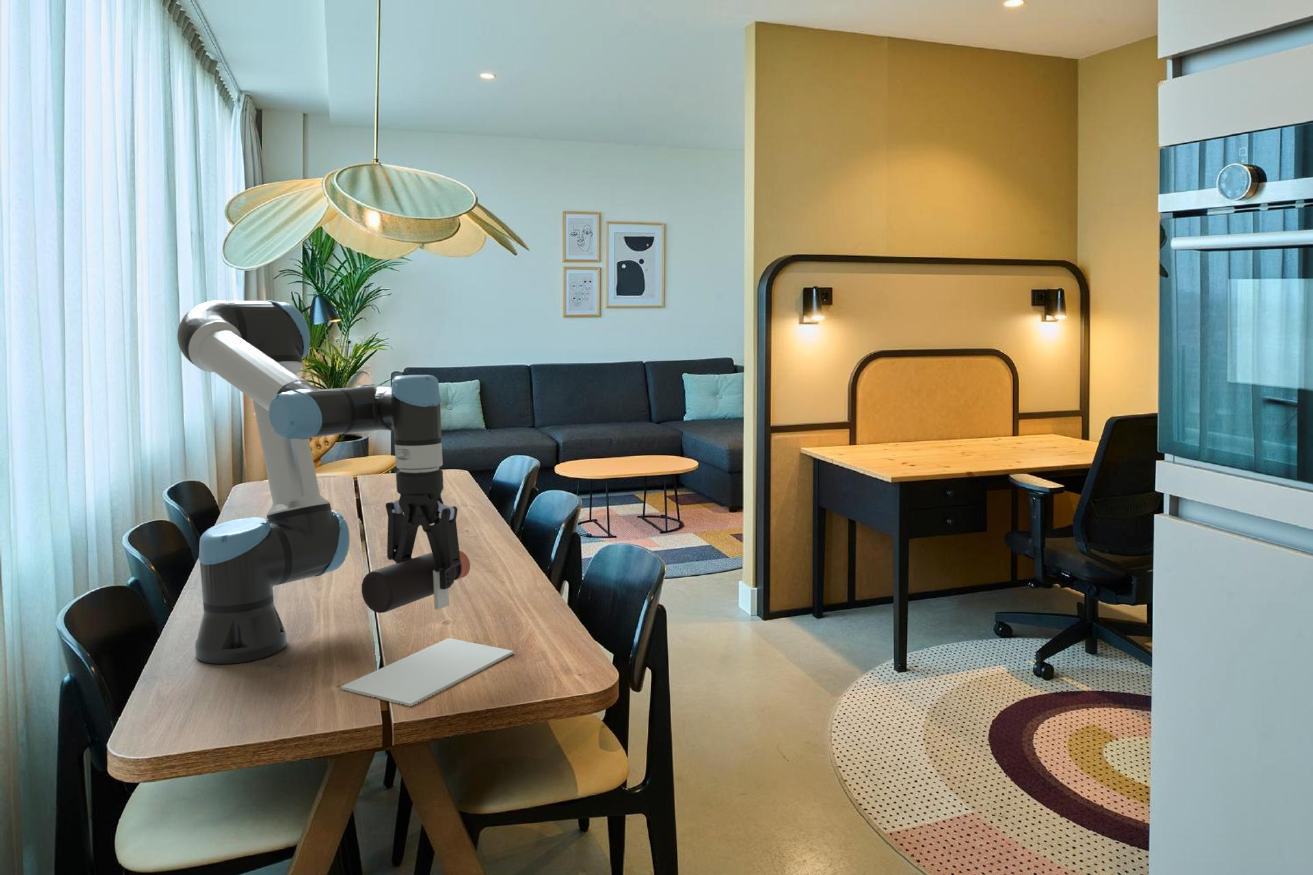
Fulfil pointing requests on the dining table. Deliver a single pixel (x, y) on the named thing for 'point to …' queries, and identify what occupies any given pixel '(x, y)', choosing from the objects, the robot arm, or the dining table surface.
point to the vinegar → (405, 582)
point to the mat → (427, 671)
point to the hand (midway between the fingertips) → (425, 604)
